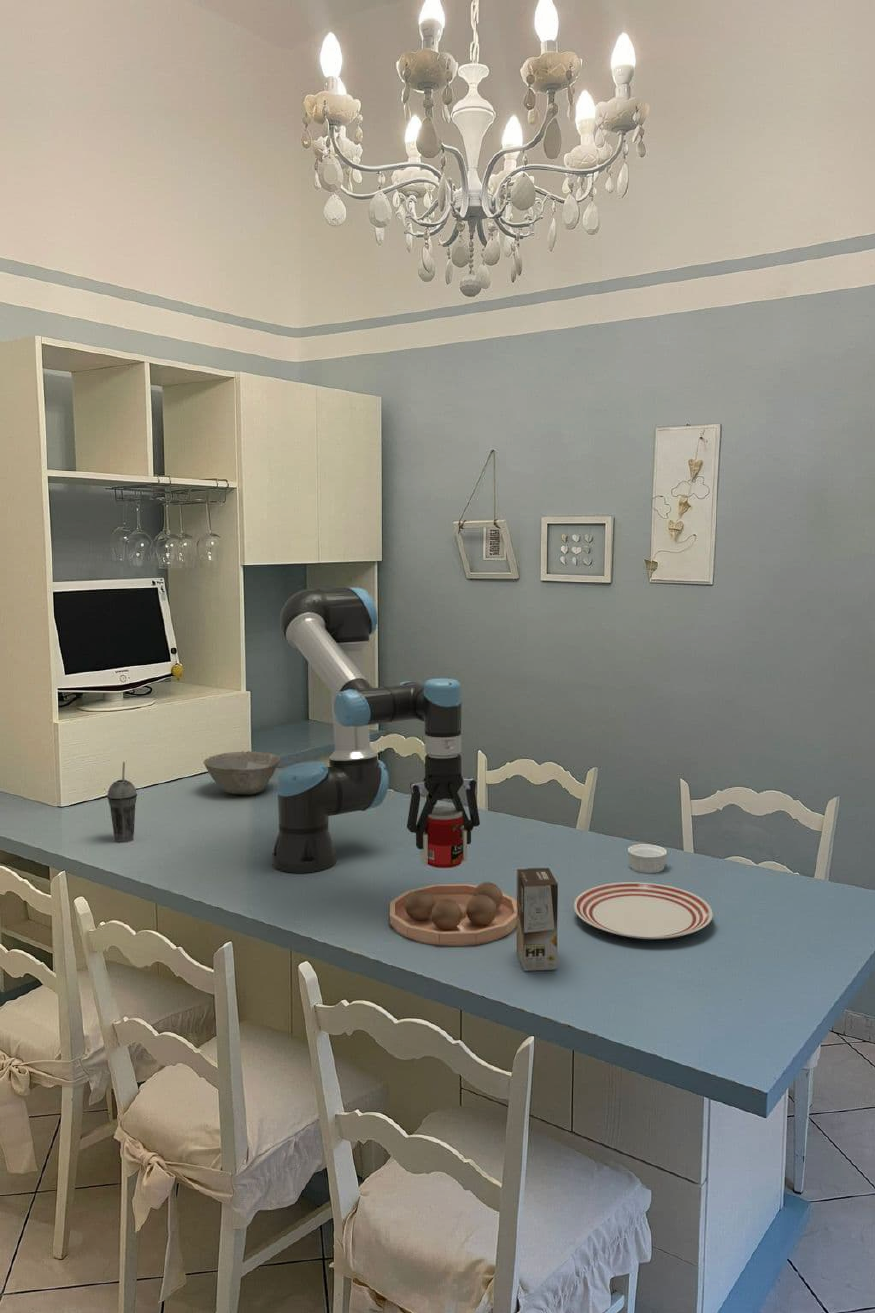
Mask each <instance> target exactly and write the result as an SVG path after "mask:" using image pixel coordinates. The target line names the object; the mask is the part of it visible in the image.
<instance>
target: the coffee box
mask: <svg viewBox="0 0 875 1313" xmlns="http://www.w3.org/2000/svg"><path fill="white" fill-rule="evenodd" d="M558 892H559V884H558V883H557V881H556V879H555V877H554V875H553V873H552V872H551V870H550V868H549V867H533V868H528V867H527V868H521V869H520V868H518V869H516V901H517V927H516V953H517V956H518V959H519V963H520V965H521V967H522V970H523V971H524V972H529V971H530V972H531V971H553V970H554V971H555V970H557V968H558V967H557V965H558V919H559V918H558V907H559V906H558V905H559V904H558V903H559V902H558V901H559V900H558V899H559V898H558V897H559V894H558Z"/></svg>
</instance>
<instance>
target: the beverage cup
mask: <svg viewBox="0 0 875 1313" xmlns="http://www.w3.org/2000/svg"><path fill="white" fill-rule="evenodd" d="M125 765H126V762H125V761H122V773H121V774H122V775H121V777H122V778H121V779H118V780H115V781H114V782H113V783H112V784H110V786H109V788H108V791H107V796H106V798H107V801H108V805H109V808H110V815H111V816H110V817H111V823H112V824H111V825H112V830H113V837H114V841H115V842H116V843H128V842H129V843H130V842H132V841H133V840H134V835H135V820H136V819H135V818H136V804H137V798H138V797H137V796H138V794H137V789H136V787H135V784H133V783H132V782H131V781H129V780H126V779H125V770H126V769H125V768H126V766H125Z"/></svg>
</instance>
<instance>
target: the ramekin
mask: <svg viewBox="0 0 875 1313" xmlns="http://www.w3.org/2000/svg"><path fill="white" fill-rule="evenodd" d="M667 852H668V851H667V849H666V848H664V847H662V846H659V845H655V844H649V843H641V844H640V843H639V844H633V845H631V846H630V847H628V848H627V853H628V861H629V862H628V863H629V868H630V869H631V870H633V871H635V872H638V873H644V874H656V873H659V872H663V871H664V869H665V866H666V857H667Z"/></svg>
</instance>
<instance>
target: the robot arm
mask: <svg viewBox="0 0 875 1313" xmlns="http://www.w3.org/2000/svg"><path fill="white" fill-rule="evenodd" d="M378 620H379V619H378V610H377V606H376V604H375V601H374V599H373V598H372V596H371V594H370V593H369V592H368V591H367V590H366V589H364V588H361V587H347V586H345V587H332V588H331V587H327V588H315V589H314V588H307V589H302V590H300V591H298V592H296V593H294V594H293V595H291V596H290V598H288V599H287V600H286V601H285V603H284V605H283V607H282V609H281V611H280V615H279V626H280V630H281V633H282V635H283V637H284V639H285V641H286V642H287V643H288V644H289V645H290V647H292V648H294V649H295V650H299V652H300V653H301V655H303V657H304V658H305V659H306V661H307V662H308V664H309V665H310V666H311V667H312V668H313V671H314V672H315V673H316V674H317V675H318V676H319V678H320V679H321V681H322V682H323V684H324V685H325V686H326V687H327V688H328V690H329V692H330V699H331V709H332V710H331V712H332V714H331V715H332V724H333V725H332V728H333V737H334V738H333V740H334V751H333V752H332V754H331V755H330V756H329V759H328V760H329V766H328V765H327V764H326V763H325V762H323V761H319V760H318V761H315V760H313V761H304V762H303V761H302V762H299V763H294V764H291V765H289V766H287V767H285V768H284V769H282V770H281V771H280V773H279V774H278V778H277V789H276V792H277V805H278V806H277V807H278V834H277V838H276V841H275V844H274V846H273V847H274V848H273V851H272V855H271V861H272V864H271V865H272V866H273V868H274V869H276V870H279V871H281V872H286V873H296V874H304V873H305V874H306V873H314V872H321V871H324V870H327V869H330V868H331V867H333V866H334V865H336V863H337V850H336V848H335V844H334V843H333V842H334V841H333V839H332V836H331V833H330V831H329V830H330V829H329V817H331V816H338V815H342V814H347V813H354V812H366V811H367V810H371V809H375V808H378V807H379V806H381V805H382V804H383V802H384V800H385V799H386V796H387V794H388V790H389V773H388V770H387V767H386V764H385V763H384V762H383V761H382V760H380V759H378V754H377V752H376V751H374V749H372V746H371V739H370V738H371V736H370V726H373V725H378V724H379V725H380V724H385V723H393V722H394V723H396V722H404V721H409V720H411V721H413V720H417V721H421V722H424V753H425V754H426V755H425V757H424V778H423V780H422V781H421V782H417V783H415V782H412V783H410V785H409V786H410V791H411V792H410V793H411V796H410V801H409V802H410V803H409V810H408V815H407V816H408V817H407V824H406V828H407V830H408V831H409V832H410V833H411V834H415V845H416V848H417V849H418V850H420V863H421V864H422V865H423V866H424V867H425V866H429V865H428V835H427V834H426V833H425V828H426V826H427V823H428V816H429V814H430V815H431V813H432V811H433V808H434V807H436V805H437V803H438V801H442V800H444V799H446V800H451V802H452V804H453V805H454V806H453V807H455V808H456V810H457V811H459V812H461V811H462V814H463V859H462V862H467V861H468V845H470V844H471V843H472V831H473V829H474V827H479V826H480V824H481V820H480V815H479V809H478V802H477V798H476V786H477V782H476V780H474V779H473V778H472V777H468V778H464V776H463V775H462V756H461V755H460V753H462V702H463V699H462V692H461V691H462V689H461V683H460V682H459V681H458V680H456V679H453V678H446V677H445V678H431V679H428V680H426V681H425V682H424V684H423V683H421V682H418V681H415V680H413V681H402V682H400V683H398V684H397V685H391V686H390V685H389V686H380V687H378V686H377V687H373V686H372V685H371V683H370V682H369V681H368V680H367V679H366V678H367V677H366V666H365V663H366V661H365V648H366V647H367V646H368V645H369V643H370V635H372V634H373V633H375V632H376V630H377V625H378ZM462 786H463V788H464V789H465V793H466V794H465V795H466V799H467V807H468V813H469V817H470V818H469V817H468V815H467V813H466V812H467V811H466V810H465V807H464V805H463V803H462V801H461V797H460V795H459V793H458V792H459V791H460V789H461V788H462ZM424 788H425V790H427V792H428V793H427V795H426V798H425V802H424V806H423V808H422V810H421V812H420V815H419V810H420V803H421V794H422V793H423V789H424ZM418 816H419V818H418Z"/></svg>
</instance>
